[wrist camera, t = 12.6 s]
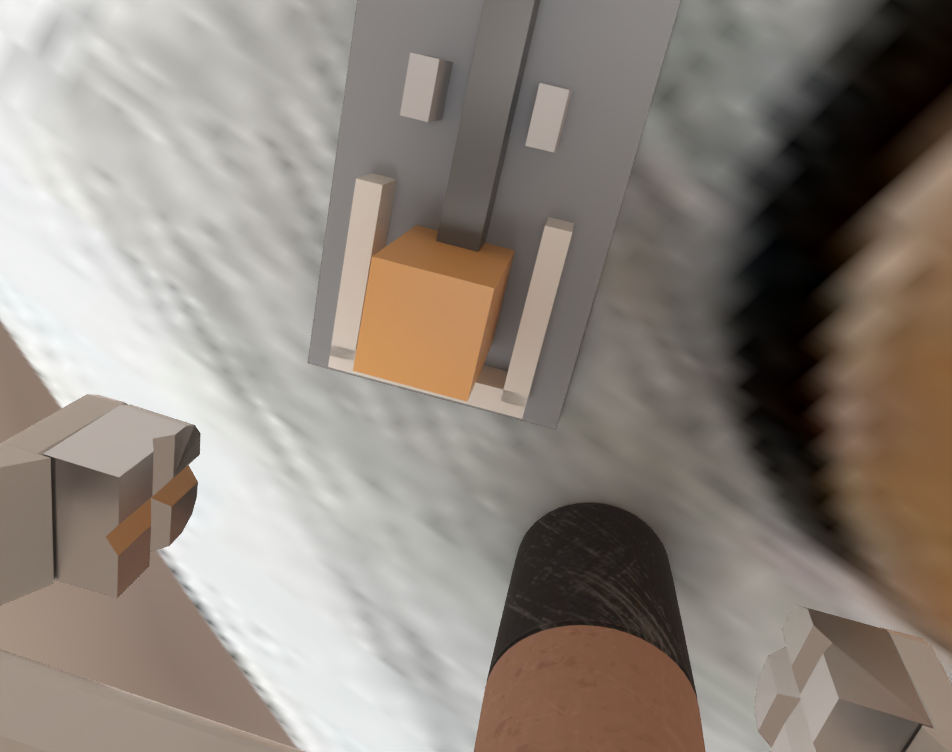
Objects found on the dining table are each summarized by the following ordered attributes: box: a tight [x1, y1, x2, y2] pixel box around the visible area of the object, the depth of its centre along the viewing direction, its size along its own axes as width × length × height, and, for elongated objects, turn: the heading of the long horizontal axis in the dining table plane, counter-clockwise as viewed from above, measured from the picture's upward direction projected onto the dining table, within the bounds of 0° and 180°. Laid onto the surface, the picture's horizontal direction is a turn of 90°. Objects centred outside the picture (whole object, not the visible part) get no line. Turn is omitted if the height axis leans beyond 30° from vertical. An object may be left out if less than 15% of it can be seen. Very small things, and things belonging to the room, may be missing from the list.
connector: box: [353, 0, 540, 402], centre depth 24 cm, size 17×4×6 cm, turn 167°
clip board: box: [308, 0, 681, 430], centre depth 25 cm, size 11×28×4 cm, turn 168°
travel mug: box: [474, 503, 705, 752], centre depth 25 cm, size 8×8×20 cm
